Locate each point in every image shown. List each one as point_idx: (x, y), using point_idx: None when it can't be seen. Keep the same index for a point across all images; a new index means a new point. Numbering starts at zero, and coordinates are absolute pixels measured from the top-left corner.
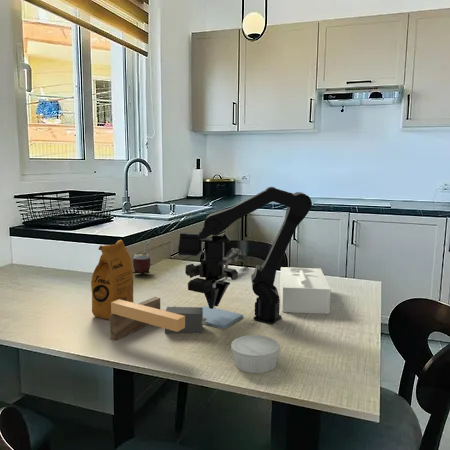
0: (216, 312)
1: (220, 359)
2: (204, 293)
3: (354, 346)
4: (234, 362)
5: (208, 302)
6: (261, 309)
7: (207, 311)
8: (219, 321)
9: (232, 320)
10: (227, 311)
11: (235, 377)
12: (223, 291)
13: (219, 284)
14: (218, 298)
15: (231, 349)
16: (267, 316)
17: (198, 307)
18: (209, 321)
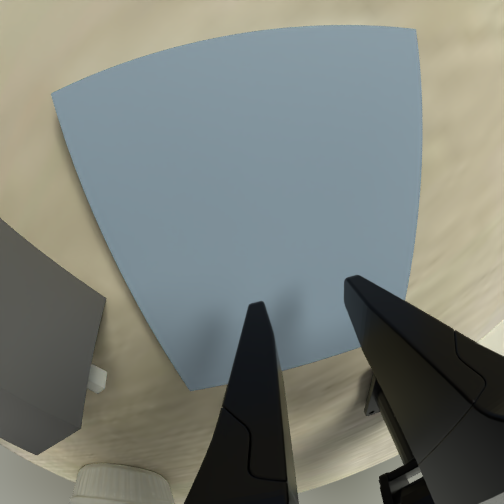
0: (350, 219)
1: (60, 447)
2: (194, 491)
3: (337, 474)
4: (78, 473)
5: (238, 367)
6: (395, 426)
7: (321, 147)
8: (222, 346)
9: (291, 366)
10: (405, 255)
11: (65, 471)
12: (418, 458)
13: (469, 499)
14: (383, 372)
15: (70, 499)
16: (382, 416)
17: (44, 412)
18: (166, 316)
